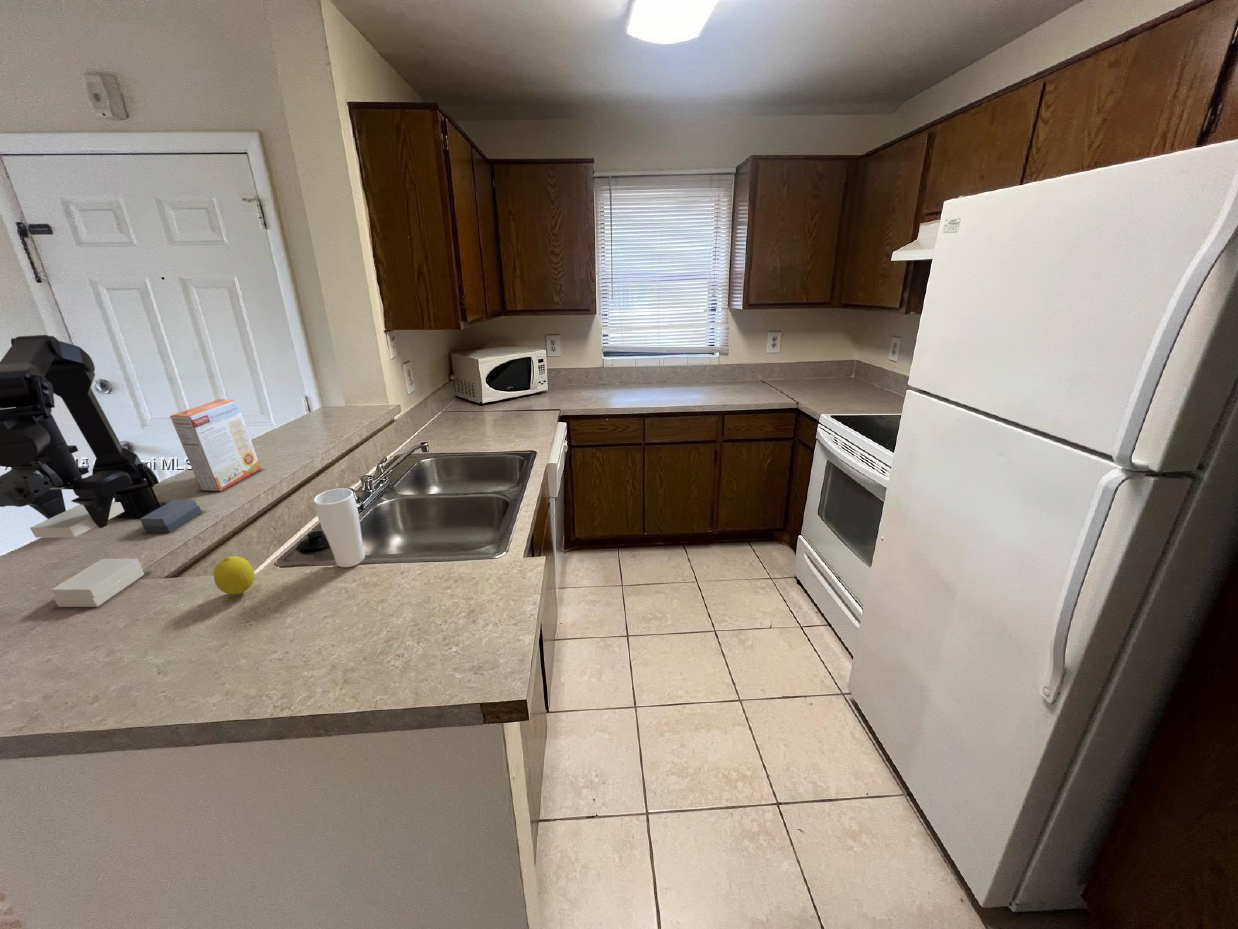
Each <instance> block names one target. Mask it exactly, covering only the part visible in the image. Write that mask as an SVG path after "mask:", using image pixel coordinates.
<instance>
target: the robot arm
mask: <svg viewBox="0 0 1238 929" xmlns="http://www.w3.org/2000/svg"><path fill="white" fill-rule="evenodd" d="M10 344H11V346H10V347H9V349H8V350H7V351H6V353H5V354H4V356H3V357H2V358H1V359H0V467H4V468H10V470H8V471H7V472H5V473H2V474H1V475H0V508H5V507H17V508H21V507H27V506H28V507H30V508H32V509H34V510H35V511H37V512H38V513H39V514H40V515H42V516H43V517H44V518H46V520H48V519H50V518H52V517H54V516H56V515H58V514H60V513H63V512H65V511H67V509H66V503H65V499H64V496H63V490H72V491H73V492H74V495H75V496H77V497H76V498H73V499H72V500H70V501H71V503H75V504H78V505H80V504H81V505H83V506H84V507H85V509H86V510H87V512H88V513H89V515H90V516H91V518H92V519H93V521H94V522H95V524H96V525H97V526H96V527H98V528H99V529H103V528H105V527H107V526H108V523H109V520H108V518H109V513H110V509H111V504H112V502H120V503H121V505H122V507H123V509H124V512H122V513H121V514H119V515H117V516H115V517H116V518H142V517H144V516H146V515H148V514H149V513H151V512H153V511H155V510H156V509H158V508H160V507H162V506H164V505H165V504H167V503H166V502H165V501H163V502H161V501H160V502H159V500H158V497H157V495H156V493H155V490H154V488H155V486H157V485H159V483H160V482H159V479H158V477H157V475H156V474H155V472H154V470H152V468H150V467H149V466H148V465H147V464H146V463H145V462H142V461H141V459H140V457H139V456H138V454H137V453H135V452H133V451H131V450H129V449H127V448H125V447H124V446H123V445H122V443H121V442H120V440H119V438H118V436H117V434H116V433H115V430H114V429H113V427H112V425H111V423H110V421H109V420H108V418H107V417H108V416H106V414H105V412H104V410H103V408H102V406H101V404H100V403H99V400H98V399H97V397H96V395H95V393H94V391H93V389H92V385H93V383H94V379H95V377H96V373H95V371H96V368H95V364H94V362H93V359H92V357H91V356H90V354H89V353H88V352H86V351H85V350H84V349H83V348H82V347H81V346H79V345H75V344H71V343H68V342H65V341H60V340H59V339H57V337H55V336H53V335H48V334H36V335H18V336H16V337H13V338H11V339H10ZM54 395H55V396H57V397H59V398H60V399H61V400H62V402H63V403H64V405H65V407H66V408H67V410H68V412H69V414H70V415H71V417H72V419H73V420H74V422H75V424H76V426H77V427H78V429H79V431H80V433H81V434H82V436H83V438H84V440H85V441H86V443H87V445H88V446H89V448H90V449H91V452H92V454H93V455H94V457H95V461H94V463H93V467H92V469H91V470H92V473H91V474H90V475H89V476H86V477H83V476H84V475H86V474H89V473H90V470H89V469H88V467H87V466H79V464H78V463H77V461H76V459H75V457H74V453H77V452H79V448H78V447H77V445H71V444H70V445H68V443H67V441H66V439H65V437H64V435H63V434H62V431H61V430H60V428H59V425H58V424H57V422H56V419H55V418H54V416H53V414H52V411H53V410H52V409H55V408H56V405H55V397H54Z"/></svg>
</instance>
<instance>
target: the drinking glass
mask: <svg viewBox="0 0 1238 929" xmlns="http://www.w3.org/2000/svg"><path fill="white" fill-rule="evenodd" d="M313 504H314V509H315V513H316V517H317V519H318V522H319V524H320V526H321V529H322V532H323V535H324V536H325V539H326V541H327V543H328V546H329V548H330V550H331V553H332V556H333V559H334V562H335V564H336V566H338V567H340V568H352V567H355V566H357V565H359V564H361V563H362V562H363V561H364V560H365V558H366V552H365V548H364V543H363V542H364V540H363V535H362V529H361V521H360V520H361V519H360V515H359V509H358V505H357V501H356V497H355V494H354V491H353V490H352V489H350V488H346V487H345V488H343V487H342V488H341V487H340V488H333V489H328V490H325V491H322V492H321V493H320V492H319V494H317V495H316V496H315V497H314V498H313Z"/></svg>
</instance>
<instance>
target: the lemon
mask: <svg viewBox="0 0 1238 929" xmlns="http://www.w3.org/2000/svg"><path fill="white" fill-rule="evenodd" d="M213 580H214V584H215V586H216V587H217V589H219V590H220V591H221V592H222V593H225V594H227V595H242V594H244V593H245V592H246V591H247V590H248V589H250V588H251V587H252V585H253V583H254V581H255V571H254V568H253V566H252V564H250V562H249V561H248V560H247V559H246V558H244V557H241V556H232V555H231V556H225V557H224V558H223V559H221V560H220V561H219V562H218V563H217V564H216V565H215V567H214V569H213Z"/></svg>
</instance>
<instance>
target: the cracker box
mask: <svg viewBox="0 0 1238 929" xmlns="http://www.w3.org/2000/svg"><path fill="white" fill-rule="evenodd" d="M169 418H170V421H171V422H172V425H173V427H174V429H175V432H176V434H177V436H178V439H179V441H180V444H181V446H182V448H183V450H184V454H185V456H186V458H187V460H188V463H189V465H190V467H191V470H192V472H193V474H194V476H195V479H196V481H197V484H198V487H199V488H200V490H201V491H204V492H205V491H207V492H222V491H224V490H226V489H227V488H229V487H231V486H233V485H235V484H237V483H238V482H240V481H242V480H244V479H246V478H248V477H250V476H251V475H253V474H255V473H257V472H259V471H260V470H262V468H261V465H260V461H259V459H258V456H257V454H256V450H255V447H254V445H253V441H252V439H251V436H250V433H249V431H248V427H247V425H246V421H245V419H244V416H243V413H242V411H241V408H240V405H239V402H238V400H237V399H224V398H223V399H216V400H213V401H210V402H207V403H204V404H201V405H199V406H195V407H192V408H189V409H186V410H183V411H180V412H177V413H174V414H171V415H170V416H169Z"/></svg>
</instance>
